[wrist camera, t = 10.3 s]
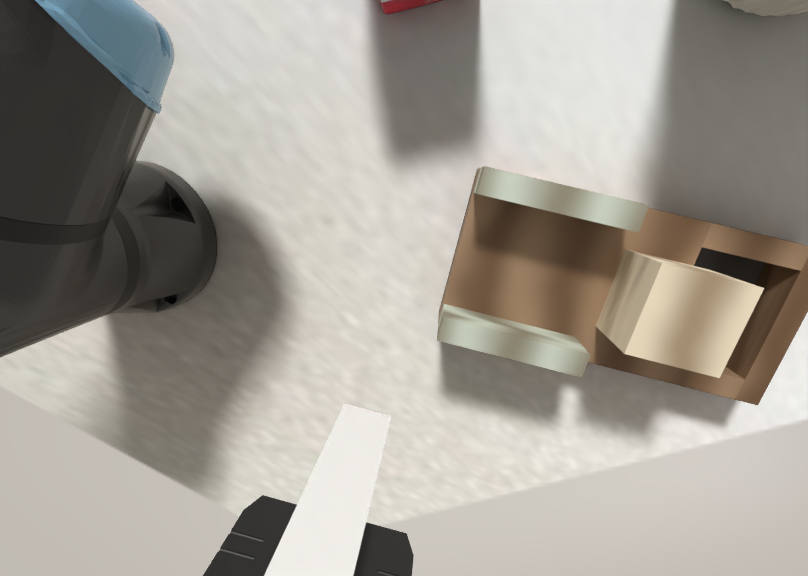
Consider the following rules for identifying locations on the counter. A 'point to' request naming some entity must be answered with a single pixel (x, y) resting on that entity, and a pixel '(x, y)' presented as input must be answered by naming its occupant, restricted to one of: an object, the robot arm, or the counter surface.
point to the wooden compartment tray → (603, 280)
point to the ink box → (402, 5)
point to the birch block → (676, 312)
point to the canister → (771, 6)
